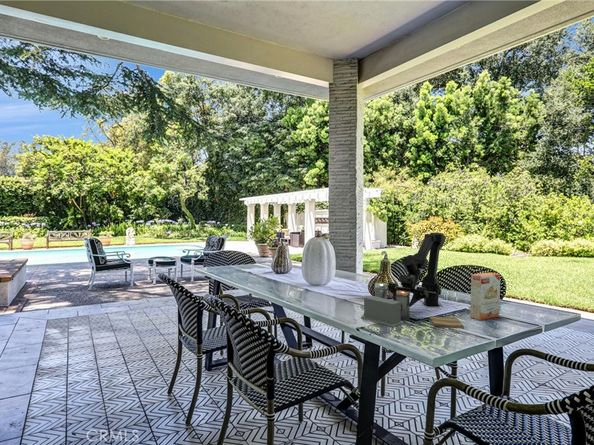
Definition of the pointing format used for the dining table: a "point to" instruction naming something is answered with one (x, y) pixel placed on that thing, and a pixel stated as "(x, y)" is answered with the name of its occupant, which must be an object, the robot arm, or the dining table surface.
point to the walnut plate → (446, 322)
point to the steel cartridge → (381, 290)
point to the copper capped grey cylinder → (404, 303)
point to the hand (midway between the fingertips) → (401, 305)
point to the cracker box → (485, 296)
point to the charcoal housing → (382, 311)
